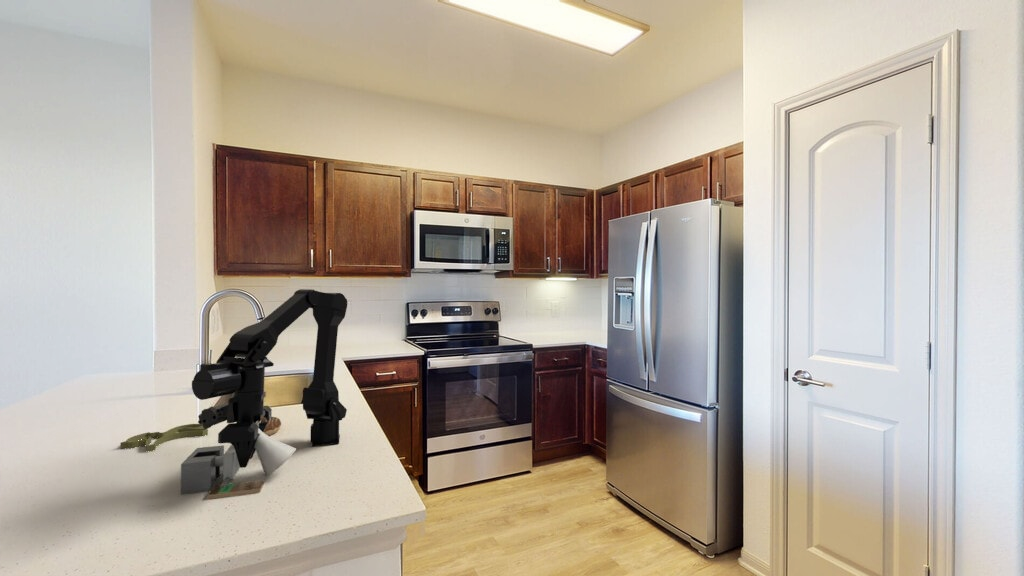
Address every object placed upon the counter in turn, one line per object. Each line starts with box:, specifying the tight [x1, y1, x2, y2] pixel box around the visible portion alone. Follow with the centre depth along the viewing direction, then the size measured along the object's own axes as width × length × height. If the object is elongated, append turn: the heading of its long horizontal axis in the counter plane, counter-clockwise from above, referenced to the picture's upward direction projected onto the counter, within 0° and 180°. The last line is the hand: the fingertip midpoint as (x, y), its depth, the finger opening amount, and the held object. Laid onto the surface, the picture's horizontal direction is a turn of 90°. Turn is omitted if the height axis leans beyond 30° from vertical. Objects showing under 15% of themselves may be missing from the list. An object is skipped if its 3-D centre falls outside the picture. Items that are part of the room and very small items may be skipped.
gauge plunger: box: [215, 444, 241, 488], centre depth 90 cm, size 5×12×5 cm, turn 20°
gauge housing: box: [180, 445, 265, 500], centre depth 90 cm, size 14×13×6 cm
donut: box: [261, 416, 282, 437], centre depth 121 cm, size 11×11×4 cm
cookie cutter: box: [119, 423, 209, 453], centre depth 115 cm, size 18×12×2 cm, turn 154°
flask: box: [255, 426, 297, 476], centre depth 94 cm, size 7×7×10 cm
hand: (246, 463), depth 92 cm, fingers open, 4 cm apart
